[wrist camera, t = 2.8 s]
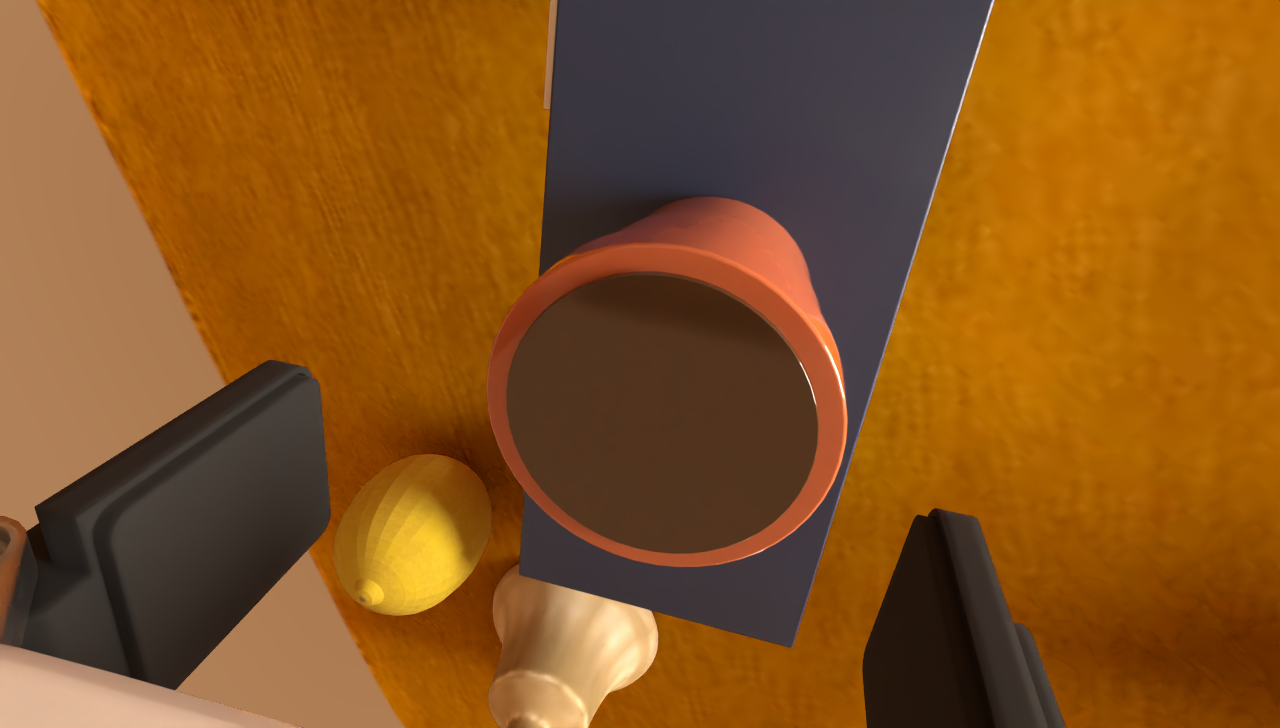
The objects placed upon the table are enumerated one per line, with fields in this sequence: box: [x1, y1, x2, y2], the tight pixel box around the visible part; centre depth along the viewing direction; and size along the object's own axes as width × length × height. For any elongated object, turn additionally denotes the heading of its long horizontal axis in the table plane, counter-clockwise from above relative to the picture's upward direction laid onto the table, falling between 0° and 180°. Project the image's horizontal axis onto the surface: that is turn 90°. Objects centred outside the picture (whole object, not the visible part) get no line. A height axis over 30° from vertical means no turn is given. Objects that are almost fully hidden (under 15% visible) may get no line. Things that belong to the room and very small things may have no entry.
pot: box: [487, 196, 848, 567], centre depth 17 cm, size 7×7×7 cm
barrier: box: [519, 0, 995, 648], centre depth 23 cm, size 10×24×6 cm, turn 172°
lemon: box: [333, 454, 492, 616], centre depth 29 cm, size 6×6×8 cm
